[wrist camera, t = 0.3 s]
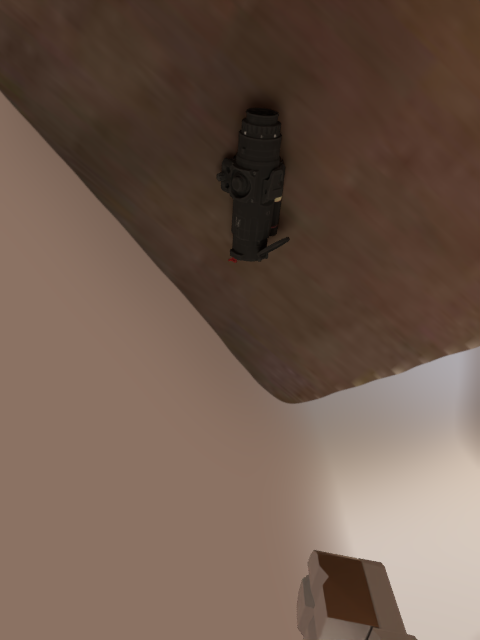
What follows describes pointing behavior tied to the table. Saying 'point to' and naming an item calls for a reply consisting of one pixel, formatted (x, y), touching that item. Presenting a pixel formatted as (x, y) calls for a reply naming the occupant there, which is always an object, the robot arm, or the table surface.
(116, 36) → the table surface
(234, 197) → the night vision scope
